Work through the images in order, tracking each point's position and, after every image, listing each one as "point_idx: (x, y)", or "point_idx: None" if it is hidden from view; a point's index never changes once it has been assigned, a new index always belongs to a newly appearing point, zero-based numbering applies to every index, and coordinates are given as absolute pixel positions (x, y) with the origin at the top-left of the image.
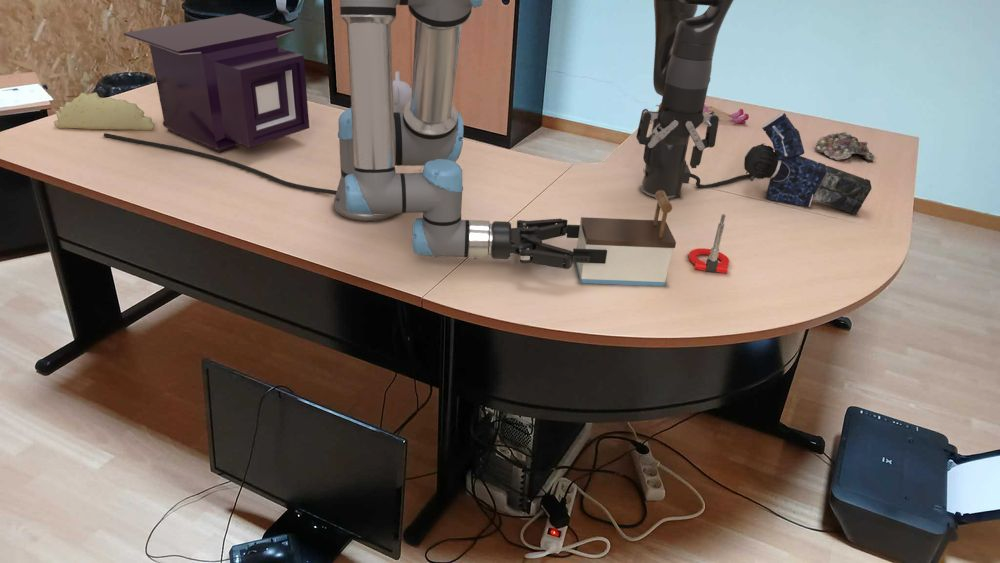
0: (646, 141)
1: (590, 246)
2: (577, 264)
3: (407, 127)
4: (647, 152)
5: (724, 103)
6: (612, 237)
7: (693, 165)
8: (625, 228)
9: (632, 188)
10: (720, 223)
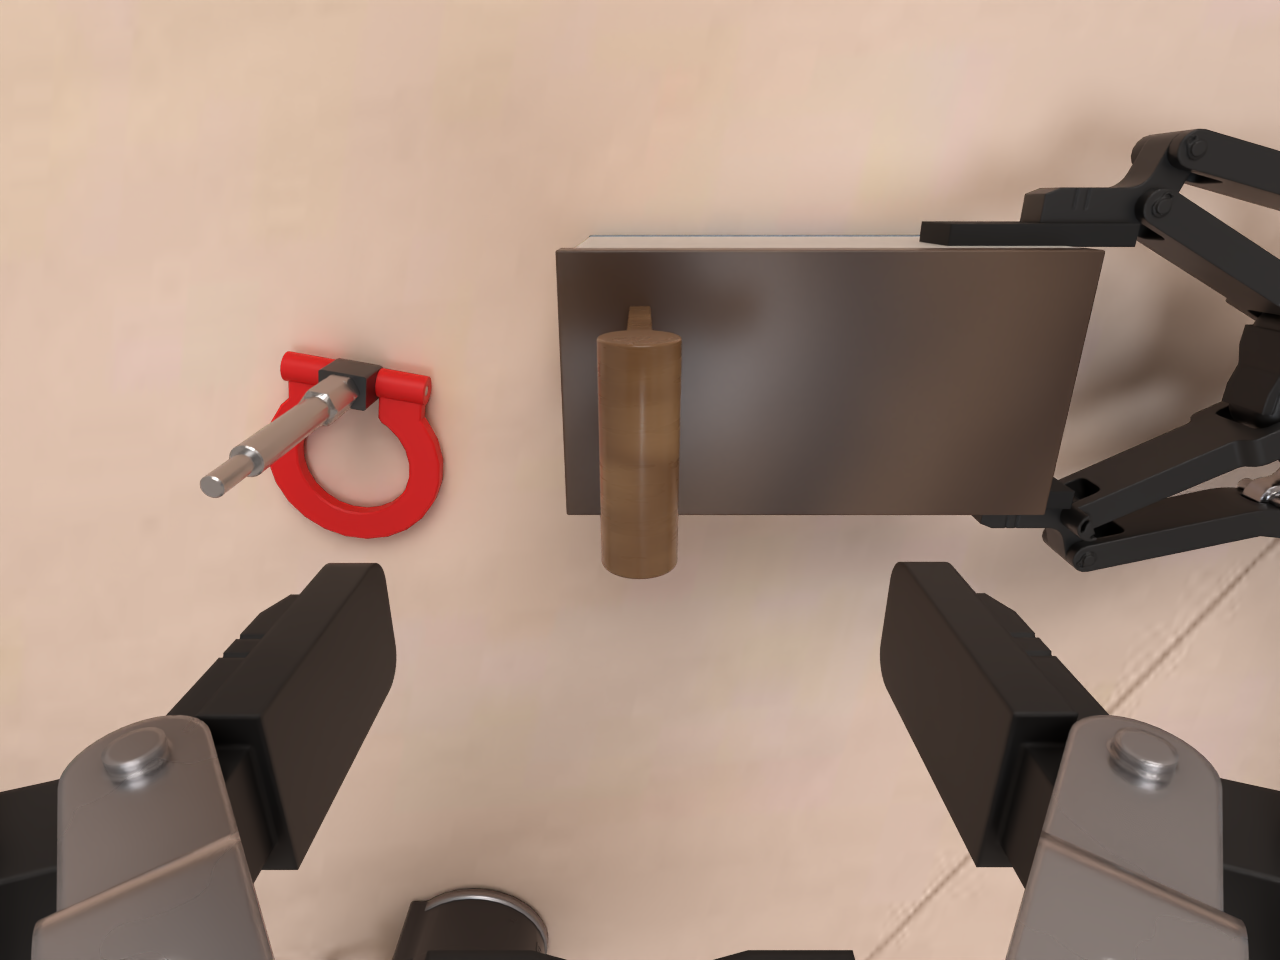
0: (1250, 837)
1: (1050, 247)
2: None
3: None
4: (1058, 689)
5: None
6: (939, 282)
7: (359, 575)
8: (826, 403)
9: (577, 947)
10: (251, 457)
